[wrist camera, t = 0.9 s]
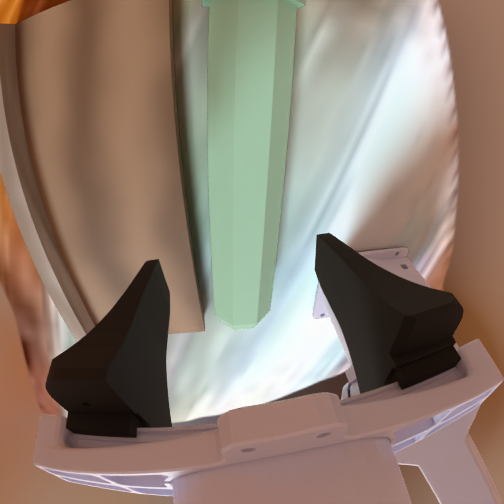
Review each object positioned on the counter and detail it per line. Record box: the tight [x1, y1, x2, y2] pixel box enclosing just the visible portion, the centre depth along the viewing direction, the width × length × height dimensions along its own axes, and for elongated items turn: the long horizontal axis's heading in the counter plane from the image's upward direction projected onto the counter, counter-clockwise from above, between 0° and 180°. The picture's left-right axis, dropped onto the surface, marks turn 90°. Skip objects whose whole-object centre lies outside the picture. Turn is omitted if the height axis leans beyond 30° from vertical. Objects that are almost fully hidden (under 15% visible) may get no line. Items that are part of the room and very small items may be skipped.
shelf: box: [0, 0, 205, 342], centre depth 18 cm, size 12×28×4 cm, turn 1°
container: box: [202, 0, 306, 330], centre depth 19 cm, size 6×6×25 cm
